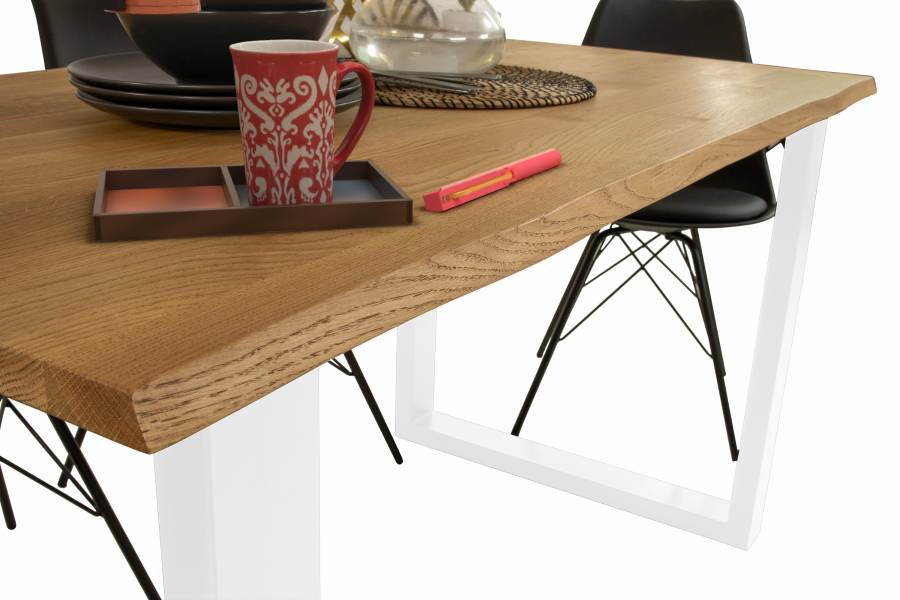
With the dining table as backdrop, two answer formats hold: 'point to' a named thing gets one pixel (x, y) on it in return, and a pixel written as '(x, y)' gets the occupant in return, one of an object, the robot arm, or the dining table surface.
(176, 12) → the terracotta cup
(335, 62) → the mug
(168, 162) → the dining table surface
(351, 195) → the tray
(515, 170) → the pink highlighter pen
